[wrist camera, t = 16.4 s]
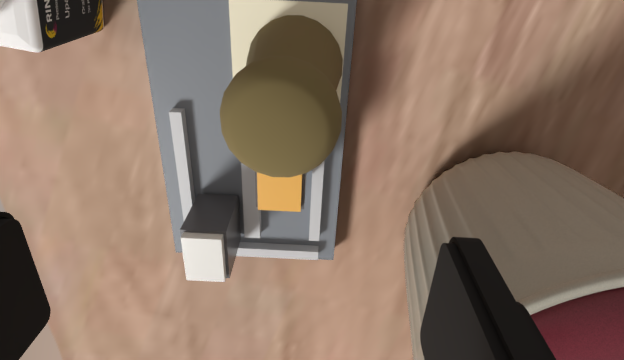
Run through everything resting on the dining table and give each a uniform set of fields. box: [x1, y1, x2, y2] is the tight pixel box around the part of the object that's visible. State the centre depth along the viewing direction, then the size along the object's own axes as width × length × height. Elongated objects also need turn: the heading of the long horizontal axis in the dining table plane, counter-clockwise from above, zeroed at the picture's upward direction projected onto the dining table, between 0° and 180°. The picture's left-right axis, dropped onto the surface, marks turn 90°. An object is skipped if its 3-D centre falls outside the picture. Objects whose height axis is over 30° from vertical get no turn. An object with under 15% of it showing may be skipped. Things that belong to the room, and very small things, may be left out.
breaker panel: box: [137, 0, 357, 260], centre depth 29 cm, size 13×20×2 cm, turn 177°
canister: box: [404, 151, 624, 360], centre depth 24 cm, size 18×18×21 cm
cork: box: [220, 15, 343, 177], centre depth 21 cm, size 6×6×11 cm
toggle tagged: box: [255, 172, 307, 212], centre depth 26 cm, size 3×4×5 cm
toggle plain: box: [180, 194, 241, 282], centre depth 29 cm, size 3×4×5 cm
